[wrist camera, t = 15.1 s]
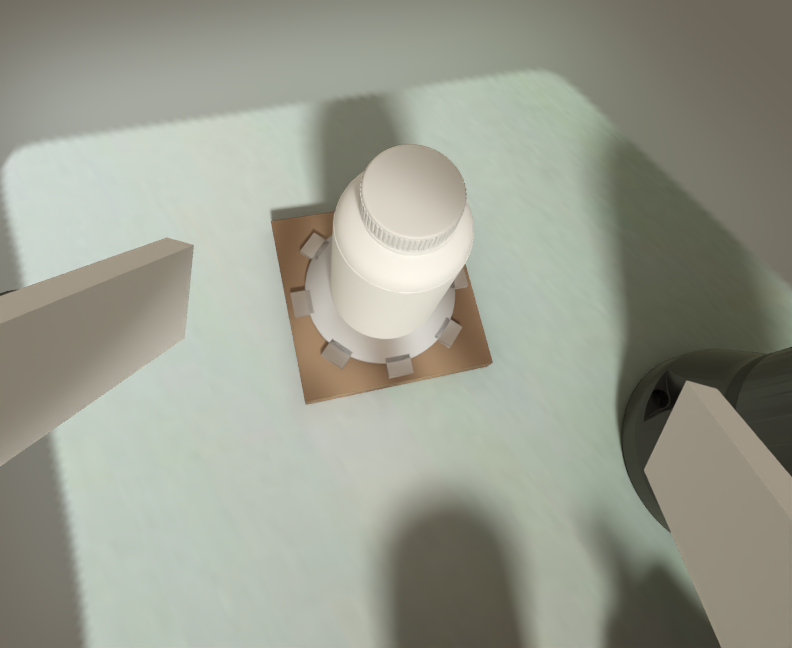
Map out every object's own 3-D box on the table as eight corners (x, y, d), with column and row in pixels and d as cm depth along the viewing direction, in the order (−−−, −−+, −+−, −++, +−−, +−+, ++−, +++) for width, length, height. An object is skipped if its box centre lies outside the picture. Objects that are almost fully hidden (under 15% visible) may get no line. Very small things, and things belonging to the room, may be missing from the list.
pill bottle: (313, 320, 40) (309, 228, 26) (352, 226, 43) (368, 94, 28) (416, 358, 40) (469, 288, 26) (449, 262, 43) (514, 150, 29)
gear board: (442, 204, 46) (447, 192, 45) (486, 366, 43) (494, 361, 41) (272, 229, 44) (270, 218, 42) (305, 404, 41) (305, 400, 39)
